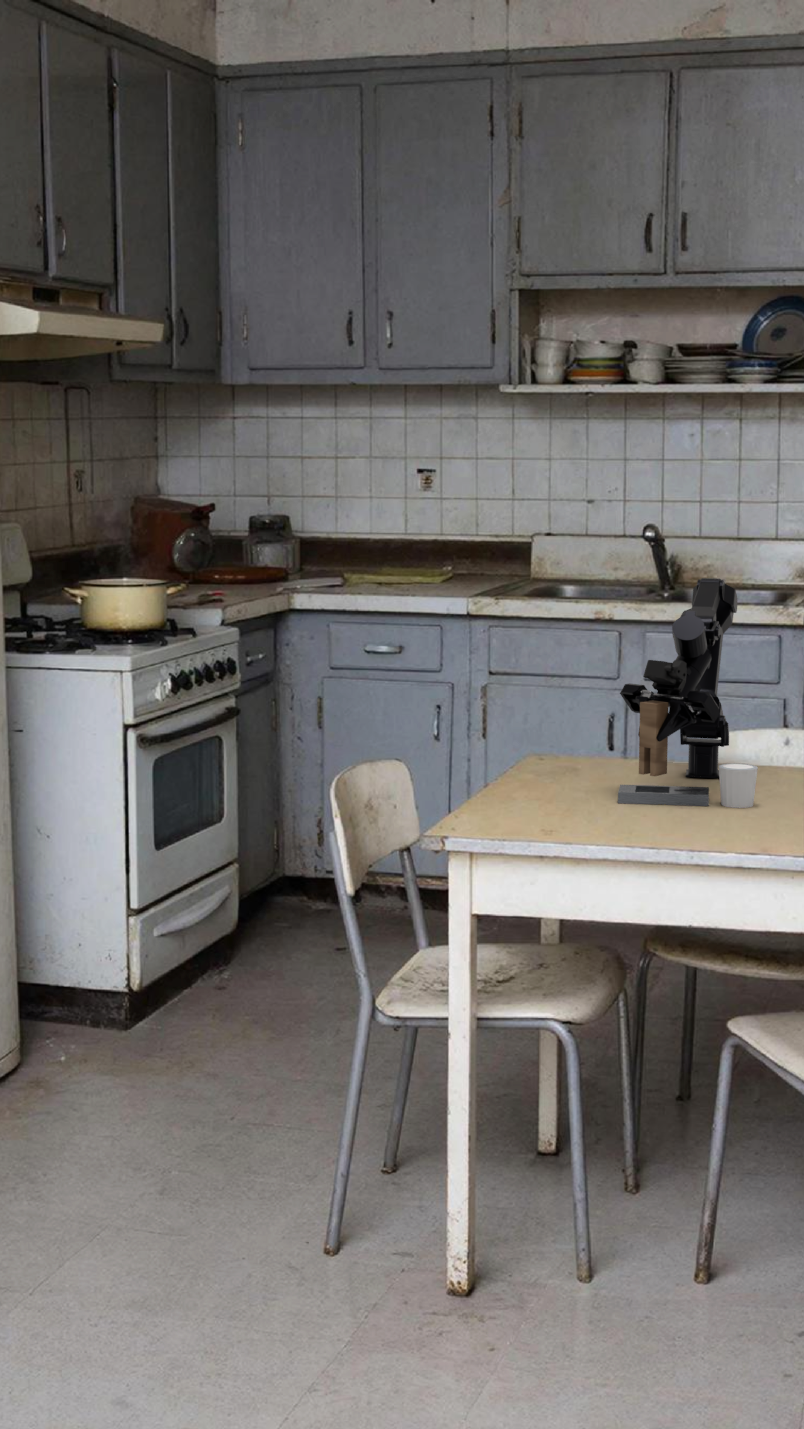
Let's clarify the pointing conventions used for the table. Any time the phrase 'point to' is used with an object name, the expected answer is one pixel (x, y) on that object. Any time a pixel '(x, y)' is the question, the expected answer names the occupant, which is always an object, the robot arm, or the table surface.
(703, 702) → the robot arm
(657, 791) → the metal plate with hole
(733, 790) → the white cup
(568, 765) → the table surface
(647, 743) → the brown block
